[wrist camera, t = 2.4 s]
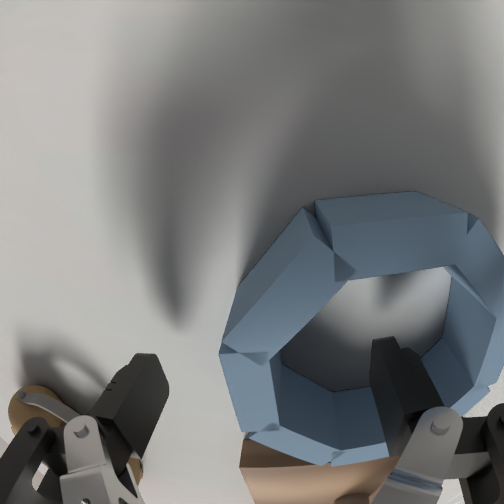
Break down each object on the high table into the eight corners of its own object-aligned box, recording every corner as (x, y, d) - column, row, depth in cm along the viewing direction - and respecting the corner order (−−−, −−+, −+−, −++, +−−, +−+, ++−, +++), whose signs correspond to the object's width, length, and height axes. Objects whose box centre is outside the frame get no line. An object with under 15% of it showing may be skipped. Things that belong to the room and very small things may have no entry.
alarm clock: (26, 453, 17) (-28, 391, 9) (46, 420, 21) (13, 340, 14) (127, 511, 18) (137, 502, 10) (141, 473, 22) (164, 432, 14)
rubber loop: (219, 212, 10) (191, 243, 7) (481, 187, 9) (538, 206, 6) (260, 416, 14) (254, 471, 10) (449, 384, 12) (472, 429, 9)
